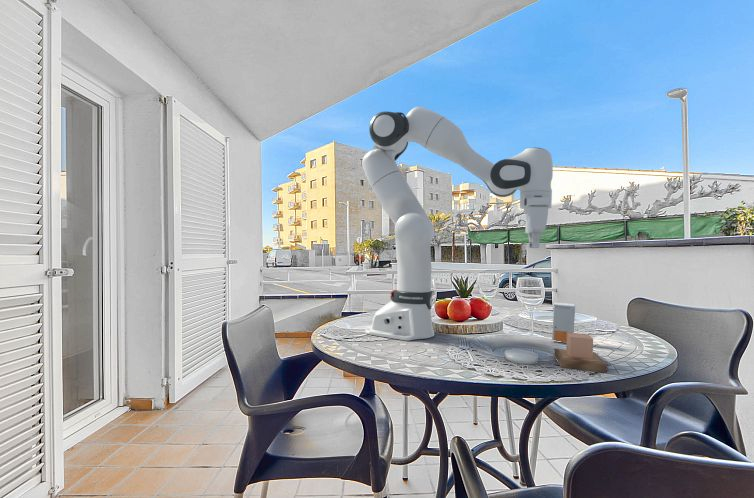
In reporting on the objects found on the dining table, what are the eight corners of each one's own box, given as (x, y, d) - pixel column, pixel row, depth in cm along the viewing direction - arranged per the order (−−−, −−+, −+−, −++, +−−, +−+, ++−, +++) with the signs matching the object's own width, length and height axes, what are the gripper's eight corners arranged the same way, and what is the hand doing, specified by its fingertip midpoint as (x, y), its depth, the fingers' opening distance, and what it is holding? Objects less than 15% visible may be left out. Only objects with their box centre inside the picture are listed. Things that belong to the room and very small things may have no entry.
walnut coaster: (560, 367, 92) (560, 358, 92) (554, 355, 101) (554, 347, 101) (606, 372, 89) (606, 363, 89) (595, 360, 98) (595, 351, 98)
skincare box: (551, 342, 116) (553, 303, 115) (552, 339, 119) (553, 302, 119) (573, 345, 113) (575, 305, 113) (573, 342, 117) (575, 304, 116)
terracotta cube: (570, 356, 93) (570, 336, 93) (566, 351, 98) (566, 332, 98) (592, 359, 92) (593, 338, 92) (587, 353, 97) (588, 334, 97)
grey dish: (505, 361, 95) (505, 356, 95) (504, 353, 102) (504, 347, 102) (539, 365, 92) (539, 359, 92) (535, 356, 100) (535, 351, 100)
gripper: (521, 206, 123) (520, 247, 124) (527, 198, 104) (525, 248, 104) (542, 205, 121) (540, 248, 122) (552, 198, 102) (550, 248, 102)
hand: (533, 248), depth 113 cm, fingers open, 8 cm apart
